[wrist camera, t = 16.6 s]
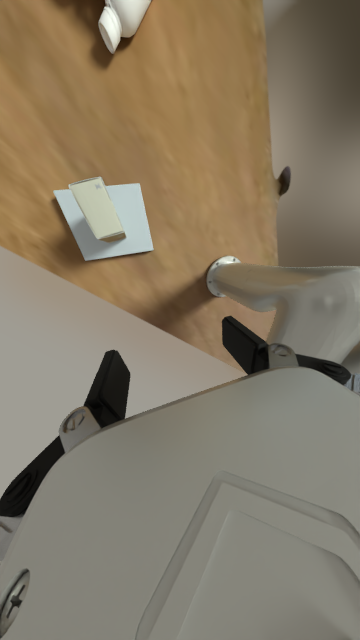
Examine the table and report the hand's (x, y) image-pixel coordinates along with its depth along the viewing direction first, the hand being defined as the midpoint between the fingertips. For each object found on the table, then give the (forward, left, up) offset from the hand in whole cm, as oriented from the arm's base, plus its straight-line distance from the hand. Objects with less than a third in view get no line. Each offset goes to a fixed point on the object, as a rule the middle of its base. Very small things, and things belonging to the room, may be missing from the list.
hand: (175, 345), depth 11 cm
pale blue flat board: (+6, -14, -31) cm, 35 cm away
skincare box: (+6, -14, -28) cm, 32 cm away
